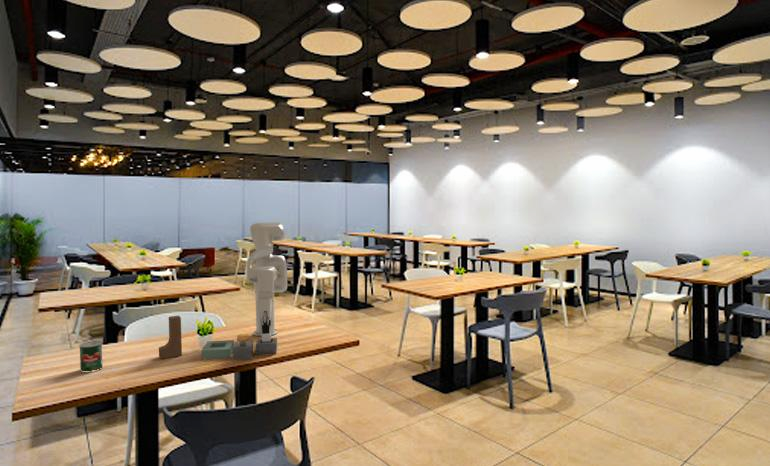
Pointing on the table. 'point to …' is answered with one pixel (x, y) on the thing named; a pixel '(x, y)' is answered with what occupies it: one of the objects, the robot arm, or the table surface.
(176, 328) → the wooden block
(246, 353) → the release housing
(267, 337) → the steel peg
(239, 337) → the release button
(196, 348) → the table surface
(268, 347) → the socket block
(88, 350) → the canned tomato
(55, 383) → the table surface
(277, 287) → the robot arm
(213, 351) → the green recessed block
